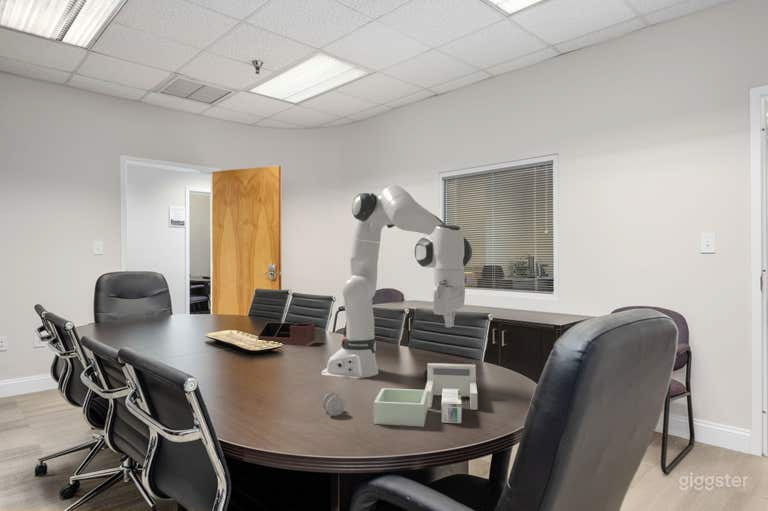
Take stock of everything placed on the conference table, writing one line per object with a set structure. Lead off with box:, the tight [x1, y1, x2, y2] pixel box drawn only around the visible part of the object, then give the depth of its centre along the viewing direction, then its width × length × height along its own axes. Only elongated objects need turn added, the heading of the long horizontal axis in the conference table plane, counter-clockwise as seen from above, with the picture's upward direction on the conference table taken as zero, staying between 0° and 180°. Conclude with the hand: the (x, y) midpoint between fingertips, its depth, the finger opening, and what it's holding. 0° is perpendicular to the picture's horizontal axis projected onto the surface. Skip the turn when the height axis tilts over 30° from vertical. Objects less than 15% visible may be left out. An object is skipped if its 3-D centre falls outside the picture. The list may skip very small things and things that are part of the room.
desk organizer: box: [257, 321, 316, 347], centre depth 244 cm, size 10×29×11 cm, turn 75°
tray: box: [373, 387, 428, 427], centre depth 135 cm, size 14×14×6 cm
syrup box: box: [440, 389, 463, 424], centre depth 136 cm, size 6×6×14 cm
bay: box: [424, 362, 478, 411], centre depth 150 cm, size 16×16×10 cm
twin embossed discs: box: [322, 391, 346, 416], centre depth 138 cm, size 6×4×6 cm
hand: (449, 326), depth 136 cm, fingers closed
